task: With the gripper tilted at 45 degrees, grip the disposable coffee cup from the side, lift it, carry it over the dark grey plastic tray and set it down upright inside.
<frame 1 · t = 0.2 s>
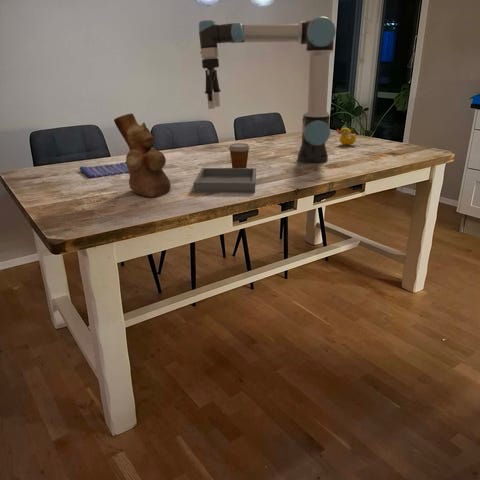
hand: (214, 107, 212), 27 cm above the table, tool pointing down, fingers open, 13 cm apart
disposable coffee cup: (239, 171, 213), on the table
dish towel: (109, 172, 214), on the table
duckling: (345, 145, 267), on the table
grey tray: (226, 184, 191), on the table
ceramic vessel: (145, 191, 183), on the table
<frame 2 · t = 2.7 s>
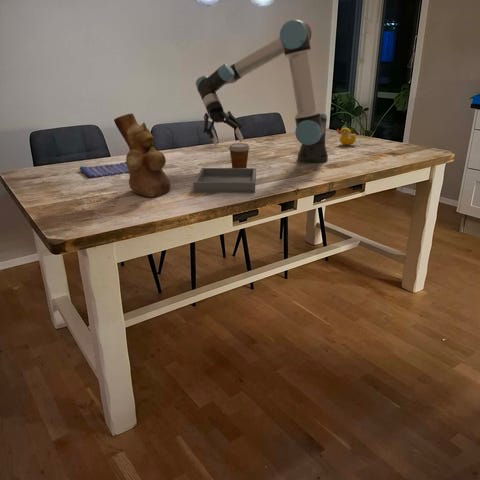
hand: (229, 142, 213), 12 cm above the table, tool tilted 45°, fingers open, 13 cm apart
nothing on the table moved.
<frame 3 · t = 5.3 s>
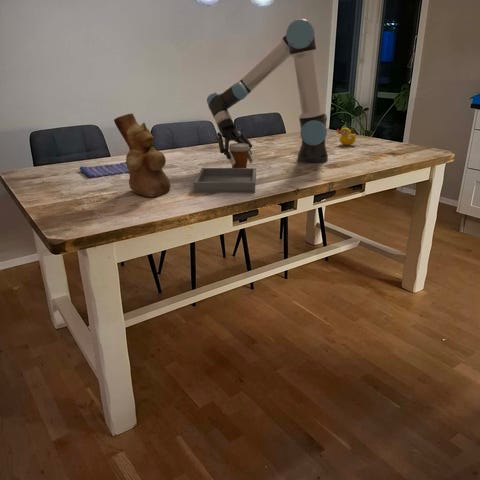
hand: (243, 163, 208), 4 cm above the table, tool tilted 45°, fingers closed on disposable coffee cup, 9 cm apart
disposable coffee cup: (239, 171, 212), on the table, touching gripper
everything else where it was.
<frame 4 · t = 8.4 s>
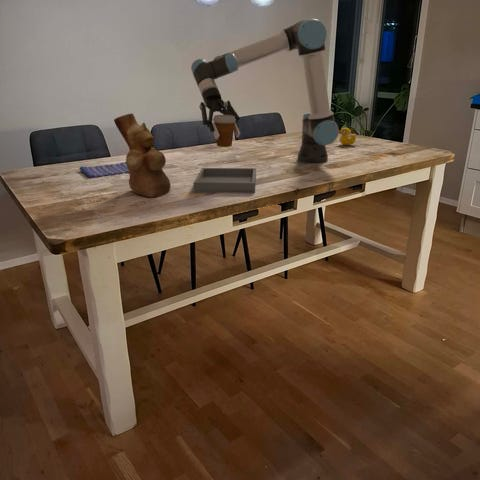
hand: (228, 136, 188), 19 cm above the table, tool tilted 45°, fingers closed on disposable coffee cup, 9 cm apart
disposable coffee cup: (224, 146, 192), point 15 cm above the table, touching gripper
everything else where it was.
when the fingers open (7 cm above the table, at t = 11.7 s): disposable coffee cup moves 3 cm, resting on grey tray.
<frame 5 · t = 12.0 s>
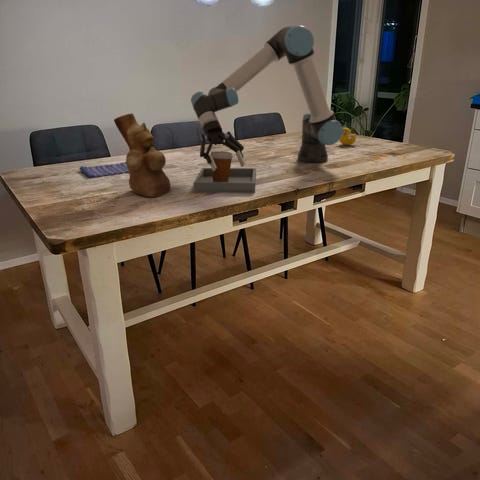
hand: (229, 167, 187), 8 cm above the table, tool tilted 45°, fingers open, 13 cm apart
disposable coffee cup: (220, 182, 190), point 1 cm above the table, touching grey tray, gripper
everything else where it was.
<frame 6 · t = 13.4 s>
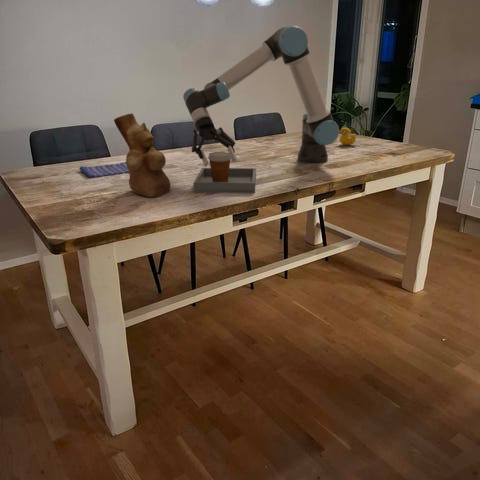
hand: (220, 162, 191), 9 cm above the table, tool tilted 45°, fingers open, 13 cm apart
disposable coffee cup: (220, 183, 190), point 1 cm above the table, touching grey tray
everything else where it was.
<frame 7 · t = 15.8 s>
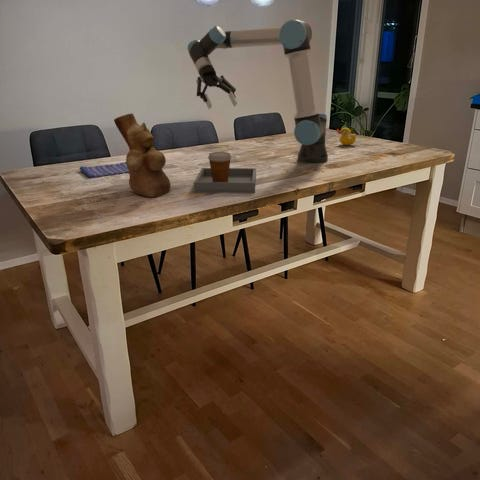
hand: (223, 105, 210), 28 cm above the table, tool tilted 45°, fingers open, 13 cm apart
nothing on the table moved.
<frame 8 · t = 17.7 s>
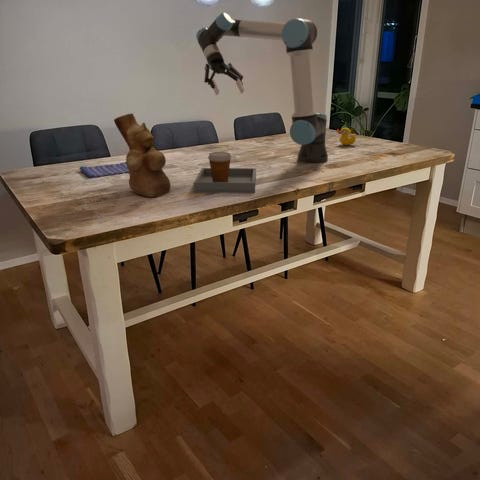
hand: (230, 92, 213), 34 cm above the table, tool tilted 45°, fingers open, 13 cm apart
nothing on the table moved.
at the end: disposable coffee cup inside the target area on the grey tray (2.9 cm from its centre), point 0.8 cm above the grey tray's base; disposable coffee cup tilted 0°; the gripper is holding nothing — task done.
